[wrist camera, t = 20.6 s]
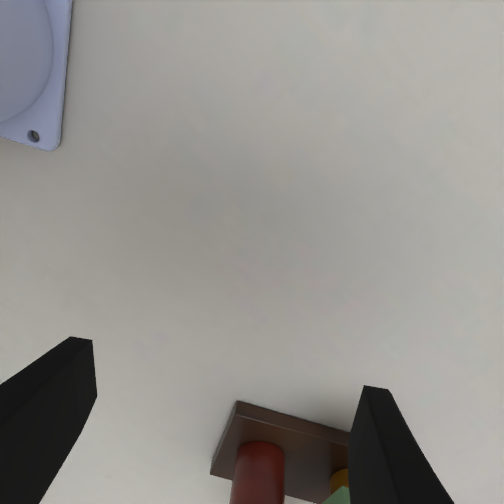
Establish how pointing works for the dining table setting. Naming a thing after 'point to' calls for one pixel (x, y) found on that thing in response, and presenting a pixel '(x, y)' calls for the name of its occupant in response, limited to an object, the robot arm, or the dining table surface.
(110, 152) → the dining table surface
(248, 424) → the rod stand
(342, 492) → the bar
